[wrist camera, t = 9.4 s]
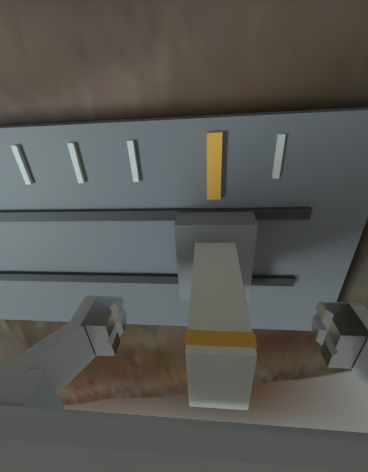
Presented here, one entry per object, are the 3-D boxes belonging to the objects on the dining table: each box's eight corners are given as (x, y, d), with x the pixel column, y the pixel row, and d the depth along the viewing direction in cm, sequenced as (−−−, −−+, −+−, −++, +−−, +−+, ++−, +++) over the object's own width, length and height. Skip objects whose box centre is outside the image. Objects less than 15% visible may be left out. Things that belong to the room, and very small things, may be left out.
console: (-148, 133, 15) (-204, 138, 13) (378, 106, 12) (414, 108, 10) (-33, 299, 22) (-57, 320, 20) (314, 309, 19) (327, 335, 17)
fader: (177, 212, 13) (146, 328, 6) (252, 211, 12) (301, 334, 6) (182, 283, 15) (163, 417, 9) (245, 284, 15) (273, 425, 9)
